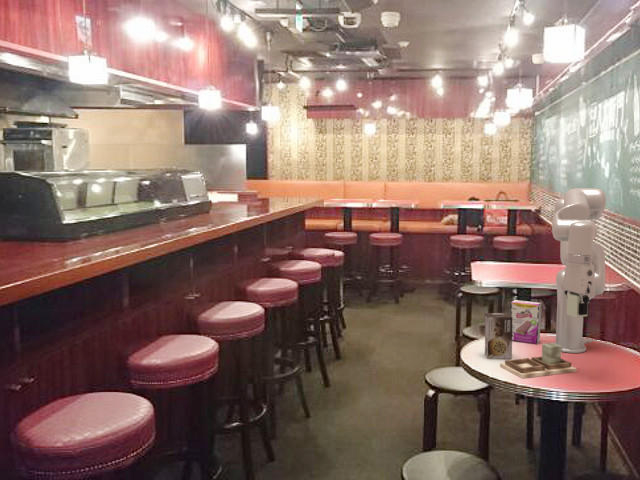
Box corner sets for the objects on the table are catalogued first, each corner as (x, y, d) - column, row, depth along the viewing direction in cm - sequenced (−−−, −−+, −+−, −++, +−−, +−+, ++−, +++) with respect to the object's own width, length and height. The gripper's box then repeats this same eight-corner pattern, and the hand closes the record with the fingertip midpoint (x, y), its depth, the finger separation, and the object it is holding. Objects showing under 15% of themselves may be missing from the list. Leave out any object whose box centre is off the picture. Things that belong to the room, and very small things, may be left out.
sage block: (577, 313, 209) (578, 293, 208) (587, 316, 205) (588, 295, 204) (566, 314, 208) (567, 294, 207) (576, 317, 203) (577, 296, 202)
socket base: (551, 360, 225) (552, 338, 224) (576, 371, 213) (577, 348, 212) (500, 366, 219) (500, 344, 218) (522, 378, 206) (523, 354, 206)
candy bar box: (509, 341, 251) (510, 301, 249) (512, 338, 255) (513, 299, 253) (537, 344, 245) (539, 304, 243) (540, 341, 250) (541, 302, 248)
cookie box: (508, 354, 233) (509, 312, 231) (512, 359, 227) (513, 316, 225) (484, 353, 234) (485, 312, 232) (486, 358, 228) (488, 316, 226)
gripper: (608, 262, 197) (605, 317, 199) (570, 255, 213) (568, 306, 215) (589, 263, 195) (586, 319, 197) (552, 256, 211) (550, 308, 213)
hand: (577, 312), depth 206 cm, fingers closed on sage block, 4 cm apart
